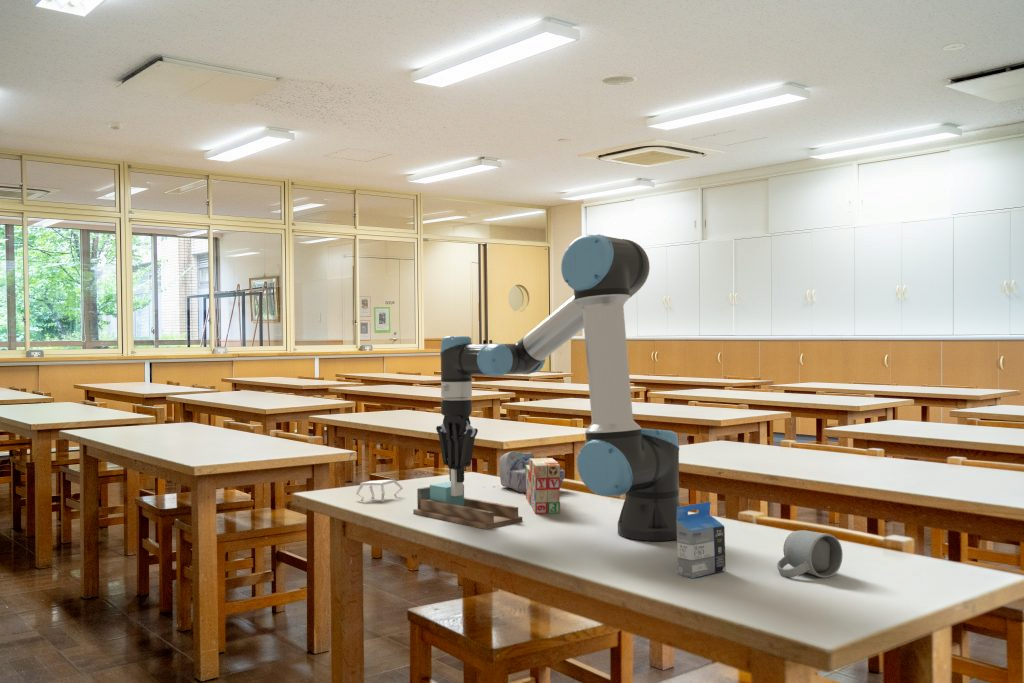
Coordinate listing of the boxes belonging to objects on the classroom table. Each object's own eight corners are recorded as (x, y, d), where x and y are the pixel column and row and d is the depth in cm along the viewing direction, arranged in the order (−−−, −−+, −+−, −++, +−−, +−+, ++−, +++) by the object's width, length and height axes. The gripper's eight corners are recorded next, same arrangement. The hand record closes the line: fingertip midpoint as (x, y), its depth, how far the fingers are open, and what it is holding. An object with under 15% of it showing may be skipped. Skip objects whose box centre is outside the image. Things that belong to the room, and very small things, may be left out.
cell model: (521, 447, 255) (571, 454, 241) (520, 483, 255) (570, 492, 241) (489, 451, 246) (540, 459, 232) (489, 488, 246) (539, 498, 232)
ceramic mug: (810, 564, 159) (809, 523, 159) (844, 575, 152) (843, 532, 152) (766, 572, 155) (765, 530, 155) (798, 583, 148) (797, 539, 148)
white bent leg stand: (374, 504, 223) (373, 485, 223) (354, 500, 229) (354, 482, 229) (409, 498, 232) (409, 480, 232) (389, 494, 237) (389, 477, 237)
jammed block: (464, 508, 210) (464, 484, 210) (445, 512, 206) (445, 487, 206) (448, 505, 214) (448, 482, 214) (430, 509, 210) (429, 484, 210)
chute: (522, 521, 200) (522, 495, 200) (485, 529, 192) (485, 502, 192) (449, 506, 218) (449, 483, 218) (413, 513, 210) (413, 489, 210)
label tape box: (692, 579, 150) (692, 509, 150) (675, 574, 153) (675, 506, 153) (726, 571, 155) (726, 504, 155) (709, 566, 158) (709, 501, 158)
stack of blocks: (525, 499, 230) (525, 453, 230) (548, 498, 230) (547, 453, 230) (535, 514, 208) (535, 464, 208) (560, 514, 209) (560, 464, 209)
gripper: (427, 398, 209) (428, 494, 209) (462, 400, 200) (463, 500, 200) (450, 397, 215) (450, 490, 215) (485, 399, 206) (486, 496, 205)
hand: (456, 495), depth 207 cm, fingers closed
